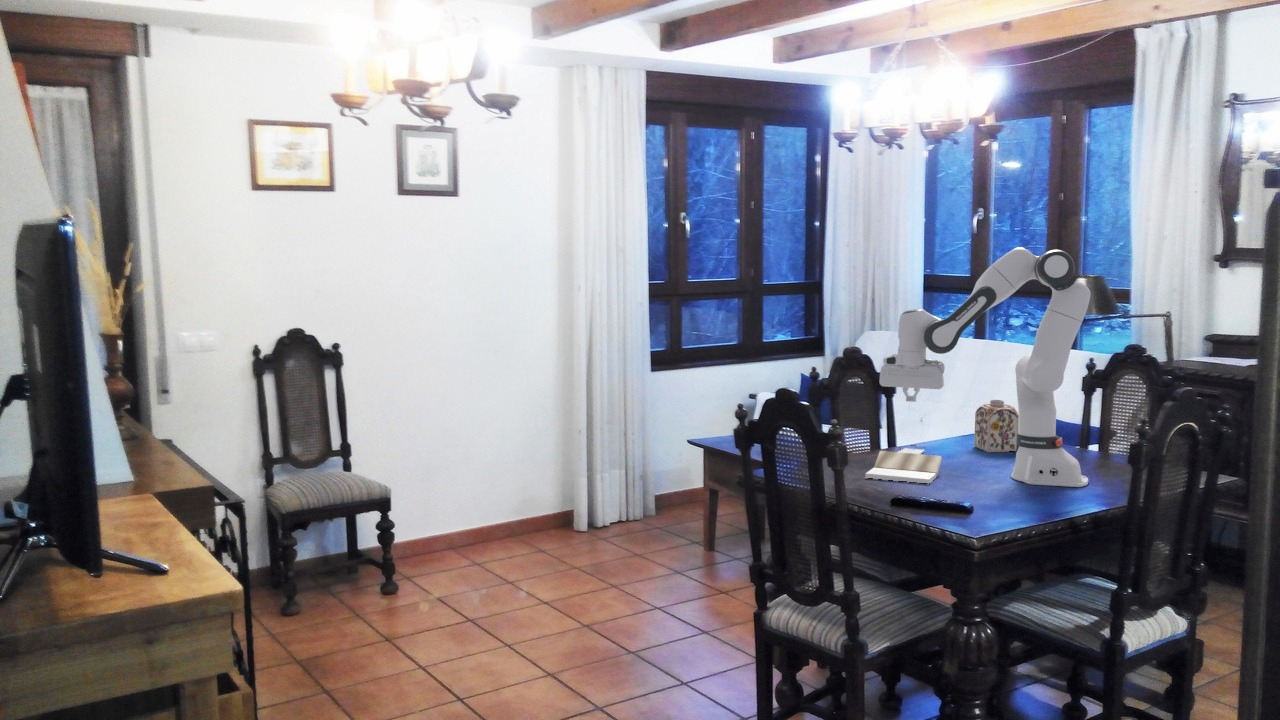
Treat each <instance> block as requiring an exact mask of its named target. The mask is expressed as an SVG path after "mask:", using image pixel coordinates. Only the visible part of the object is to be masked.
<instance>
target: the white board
mask: <svg viewBox="0 0 1280 720" xmlns="http://www.w3.org/2000/svg"><path fill="white" fill-rule="evenodd" d="M864 474H865V479H868V478H873V479H872V480H878V479H882V480H881V481H888V480H893V481H892V482H898V481H907V482H906V483H909V482H918V483H917V484H919V483H928V484H927V485H930V484H931V483H933V482H934V481H935V480H936V479H937V476H936V473H929V472H918V471H907V470H896V469H885V468H874V467H872V468H871V469H870V470H868V471H867V472H865V473H864ZM935 478H936V479H935ZM934 479H935V480H934ZM933 480H934V481H933ZM929 483H930V484H929Z"/></svg>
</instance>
